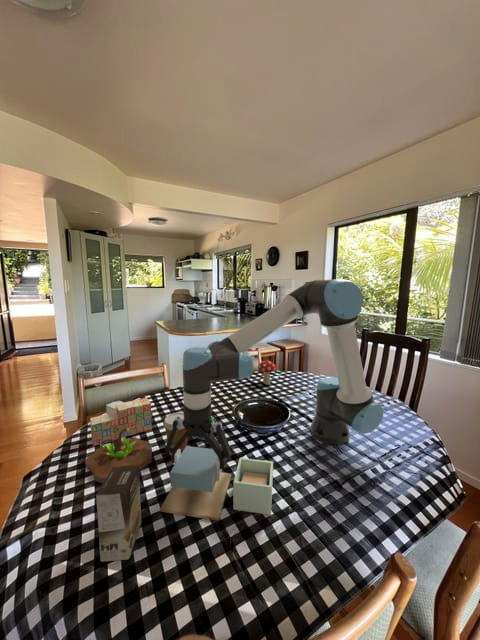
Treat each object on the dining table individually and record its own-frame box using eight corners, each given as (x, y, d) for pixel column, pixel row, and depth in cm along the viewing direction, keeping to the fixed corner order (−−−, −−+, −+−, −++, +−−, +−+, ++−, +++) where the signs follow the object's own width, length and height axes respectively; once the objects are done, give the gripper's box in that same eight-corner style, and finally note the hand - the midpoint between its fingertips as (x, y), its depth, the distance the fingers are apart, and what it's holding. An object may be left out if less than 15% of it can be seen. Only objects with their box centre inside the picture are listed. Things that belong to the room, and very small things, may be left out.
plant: (162, 461, 90) (161, 430, 88) (101, 493, 76) (99, 457, 74) (136, 437, 103) (135, 410, 102) (80, 461, 89) (78, 430, 88)
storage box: (272, 486, 78) (273, 461, 77) (270, 514, 68) (271, 487, 67) (239, 481, 80) (239, 457, 79) (233, 509, 70) (233, 482, 69)
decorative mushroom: (279, 385, 157) (280, 361, 155) (266, 389, 150) (266, 364, 148) (266, 380, 165) (267, 357, 163) (253, 384, 159) (254, 360, 156)
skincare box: (113, 424, 112) (112, 408, 111) (106, 420, 116) (105, 404, 115) (127, 419, 117) (126, 403, 116) (120, 414, 120) (119, 399, 119)
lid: (222, 463, 80) (222, 450, 79) (212, 492, 68) (212, 477, 68) (186, 458, 82) (186, 446, 81) (170, 486, 70) (170, 472, 70)
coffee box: (130, 560, 57) (126, 494, 55) (99, 562, 57) (94, 495, 54) (142, 522, 66) (139, 464, 64) (116, 524, 66) (112, 465, 63)
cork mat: (231, 475, 82) (231, 473, 82) (218, 520, 67) (218, 517, 67) (183, 469, 85) (183, 467, 85) (160, 511, 69) (160, 508, 69)
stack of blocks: (93, 448, 96) (90, 417, 94) (91, 440, 101) (89, 410, 99) (152, 431, 108) (151, 402, 106) (148, 424, 113) (147, 397, 111)
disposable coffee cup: (177, 460, 89) (176, 428, 88) (158, 451, 94) (157, 420, 93) (196, 446, 97) (196, 416, 96) (178, 438, 102) (177, 409, 101)
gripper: (242, 401, 74) (241, 471, 77) (163, 394, 78) (165, 461, 81) (237, 414, 67) (236, 491, 69) (150, 406, 70) (153, 479, 73)
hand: (198, 475), depth 75 cm, fingers closed on lid, 12 cm apart
